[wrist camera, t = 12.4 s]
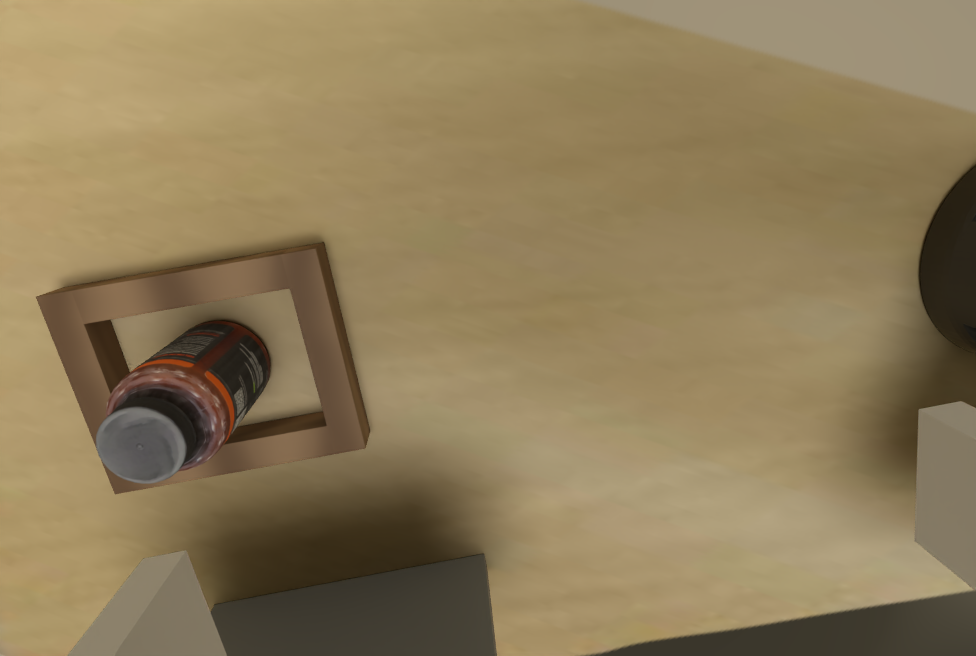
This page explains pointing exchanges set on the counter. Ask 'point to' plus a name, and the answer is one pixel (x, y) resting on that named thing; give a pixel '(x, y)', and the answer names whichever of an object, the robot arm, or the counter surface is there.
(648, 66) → the counter surface
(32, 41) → the counter surface
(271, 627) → the grey l-shaped bracket
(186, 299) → the wooden frame
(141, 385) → the supplement bottle
